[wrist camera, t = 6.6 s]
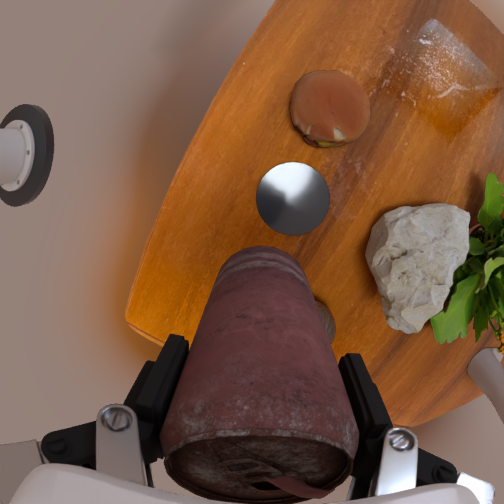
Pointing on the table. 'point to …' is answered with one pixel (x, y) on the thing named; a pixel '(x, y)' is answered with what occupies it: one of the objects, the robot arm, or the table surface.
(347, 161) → the table surface
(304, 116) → the burger
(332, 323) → the vase
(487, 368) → the candle
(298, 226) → the coaster
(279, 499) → the can
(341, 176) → the table surface
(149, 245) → the table surface
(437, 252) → the stone
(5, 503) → the robot arm
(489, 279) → the potted flower
